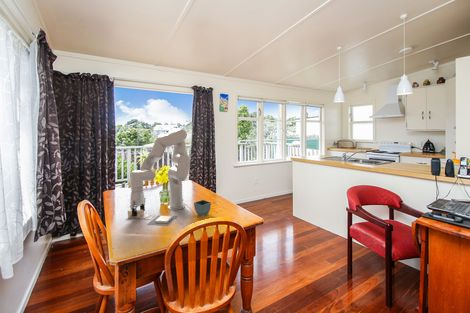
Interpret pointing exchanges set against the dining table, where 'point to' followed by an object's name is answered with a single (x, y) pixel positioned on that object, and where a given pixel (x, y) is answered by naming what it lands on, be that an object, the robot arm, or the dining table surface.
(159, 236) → the dining table surface
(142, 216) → the turner
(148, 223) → the mat
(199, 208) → the flower pot
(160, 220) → the tile
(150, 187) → the dining table surface
